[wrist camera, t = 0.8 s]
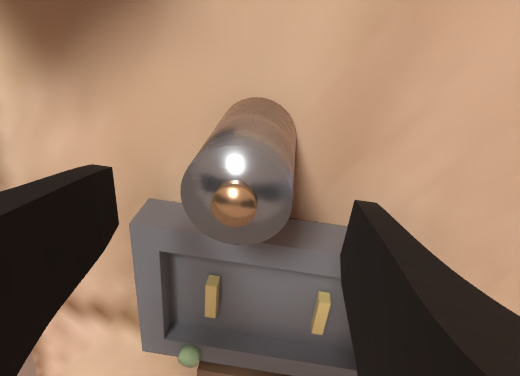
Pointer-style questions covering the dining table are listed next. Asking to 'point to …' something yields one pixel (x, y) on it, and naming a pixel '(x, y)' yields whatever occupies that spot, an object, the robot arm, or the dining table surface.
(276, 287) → the grey tray with pegs
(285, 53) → the dining table surface
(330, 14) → the dining table surface
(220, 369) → the shallow wooden tray
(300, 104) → the dining table surface
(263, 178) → the cell
